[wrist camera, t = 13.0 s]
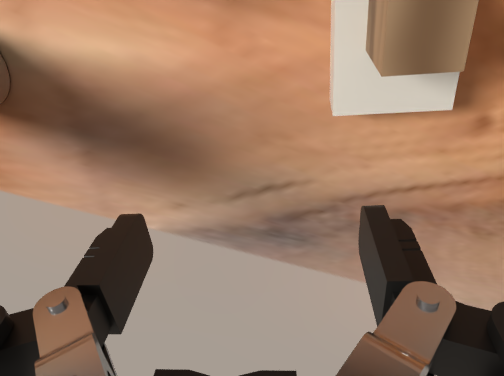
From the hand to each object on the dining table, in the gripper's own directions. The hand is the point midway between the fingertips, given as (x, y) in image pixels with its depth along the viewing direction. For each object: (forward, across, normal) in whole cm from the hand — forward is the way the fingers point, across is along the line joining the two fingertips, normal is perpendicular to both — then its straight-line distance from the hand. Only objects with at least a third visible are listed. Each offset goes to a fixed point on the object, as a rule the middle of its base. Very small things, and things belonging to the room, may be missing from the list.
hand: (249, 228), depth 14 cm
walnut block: (+21, -10, -4) cm, 24 cm away
